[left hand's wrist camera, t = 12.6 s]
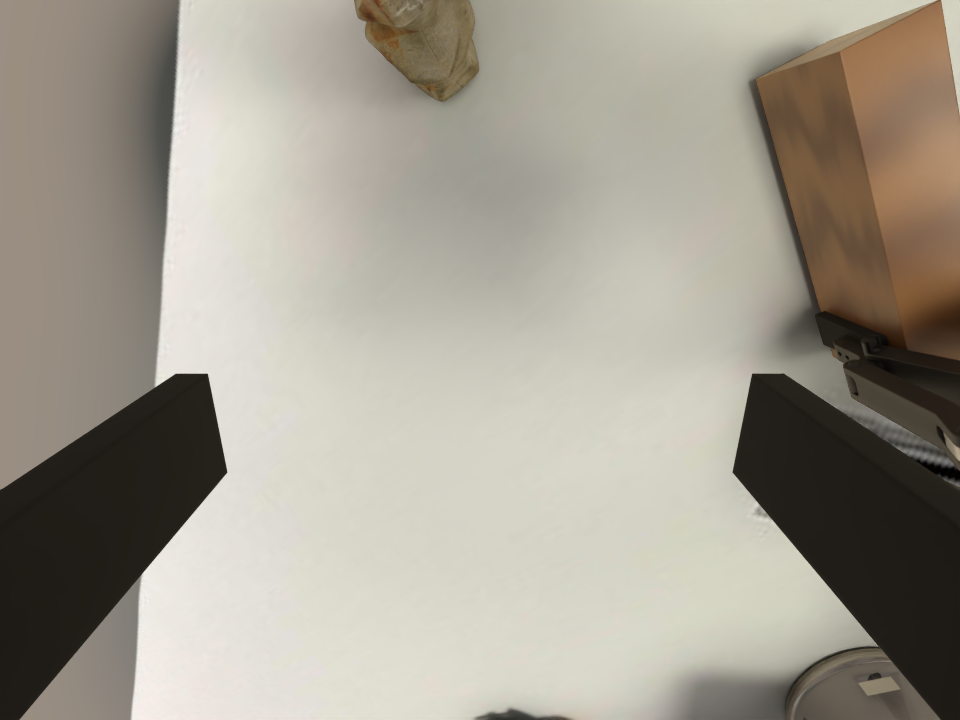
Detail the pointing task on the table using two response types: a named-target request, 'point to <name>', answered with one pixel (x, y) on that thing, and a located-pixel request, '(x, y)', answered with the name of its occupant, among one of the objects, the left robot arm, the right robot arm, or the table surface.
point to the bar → (876, 176)
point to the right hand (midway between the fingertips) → (861, 311)
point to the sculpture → (424, 41)
